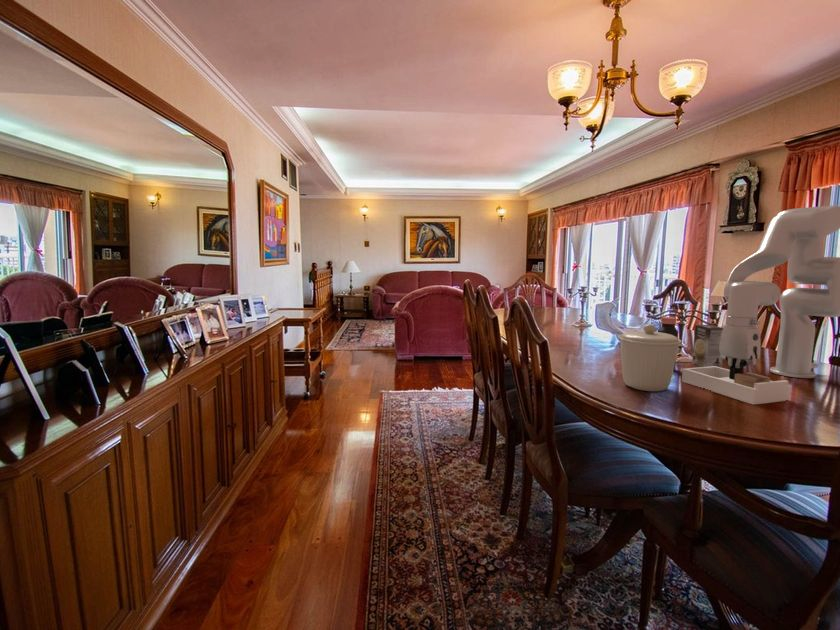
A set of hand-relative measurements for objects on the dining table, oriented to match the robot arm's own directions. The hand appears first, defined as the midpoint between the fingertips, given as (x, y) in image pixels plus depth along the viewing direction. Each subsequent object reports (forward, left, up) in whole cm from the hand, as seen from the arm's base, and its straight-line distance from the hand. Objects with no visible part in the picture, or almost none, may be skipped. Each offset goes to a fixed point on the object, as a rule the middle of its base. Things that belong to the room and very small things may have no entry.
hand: (735, 379), depth 131 cm
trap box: (0, -1, -4) cm, 4 cm away
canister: (+24, -11, -4) cm, 27 cm away
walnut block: (0, +5, -1) cm, 5 cm away
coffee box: (-20, -27, -4) cm, 34 cm away
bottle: (-1, -28, -4) cm, 28 cm away
